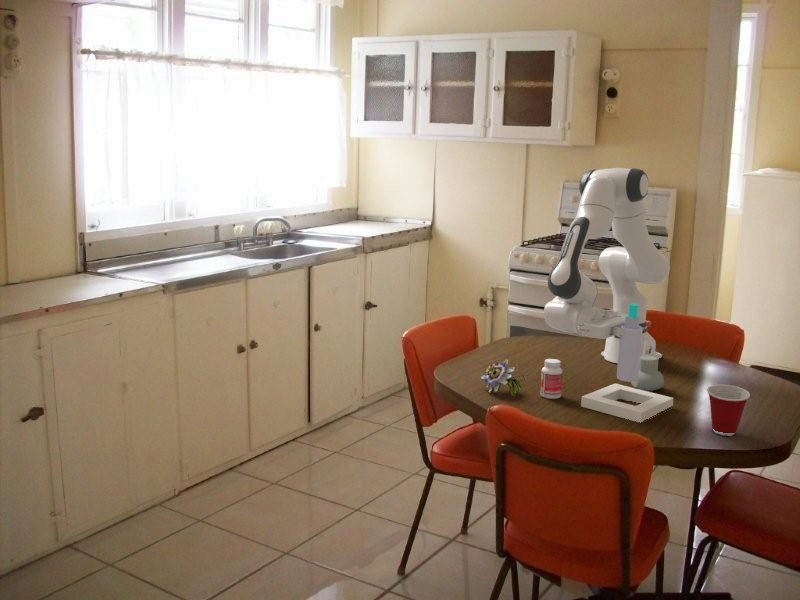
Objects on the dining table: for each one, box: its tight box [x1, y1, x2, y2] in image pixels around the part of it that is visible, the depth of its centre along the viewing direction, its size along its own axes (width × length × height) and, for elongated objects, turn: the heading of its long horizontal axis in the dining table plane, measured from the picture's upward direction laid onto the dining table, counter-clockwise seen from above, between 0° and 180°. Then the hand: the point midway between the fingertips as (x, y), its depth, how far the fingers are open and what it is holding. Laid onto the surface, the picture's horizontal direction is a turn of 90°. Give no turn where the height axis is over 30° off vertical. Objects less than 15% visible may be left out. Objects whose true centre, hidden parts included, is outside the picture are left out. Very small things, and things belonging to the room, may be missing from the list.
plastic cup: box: [706, 383, 751, 433], centre depth 233 cm, size 11×11×12 cm
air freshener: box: [630, 355, 665, 392], centre depth 271 cm, size 11×8×10 cm
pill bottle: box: [540, 358, 563, 400], centre depth 261 cm, size 6×6×11 cm
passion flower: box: [480, 359, 527, 398], centre depth 265 cm, size 11×11×12 cm
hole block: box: [580, 383, 674, 424], centre depth 253 cm, size 19×19×3 cm
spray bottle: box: [616, 304, 643, 383], centre depth 249 cm, size 6×6×22 cm
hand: (635, 331), depth 248 cm, fingers closed on spray bottle, 4 cm apart
